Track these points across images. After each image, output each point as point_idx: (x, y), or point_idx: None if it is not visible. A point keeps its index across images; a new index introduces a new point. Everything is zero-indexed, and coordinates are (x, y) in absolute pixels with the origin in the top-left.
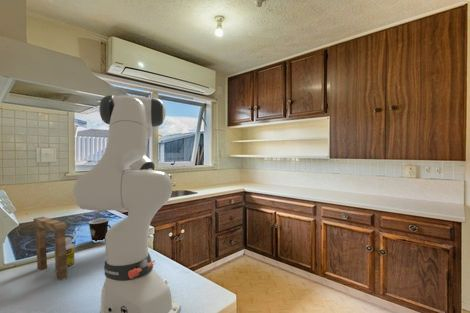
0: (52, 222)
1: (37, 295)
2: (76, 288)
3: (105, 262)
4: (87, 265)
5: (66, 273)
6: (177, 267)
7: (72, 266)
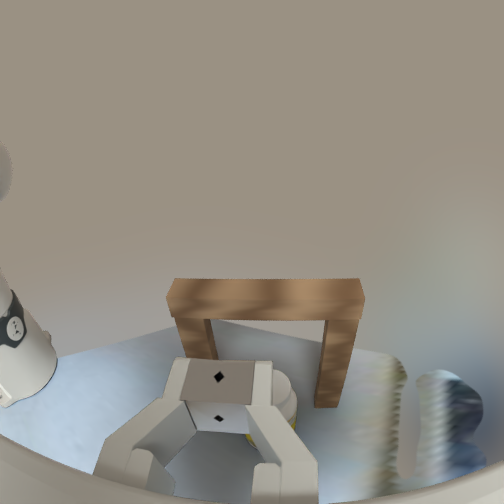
0: (224, 284)
1: None
2: (139, 383)
3: (12, 291)
4: (216, 464)
5: None
6: None
7: (246, 438)
